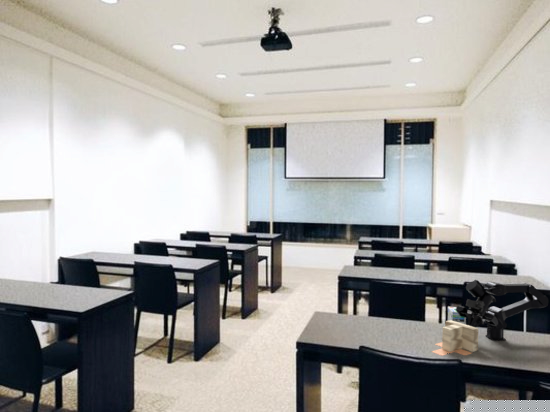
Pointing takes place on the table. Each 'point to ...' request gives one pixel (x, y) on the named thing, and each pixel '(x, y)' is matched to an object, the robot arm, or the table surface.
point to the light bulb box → (455, 316)
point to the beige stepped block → (459, 337)
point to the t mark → (444, 352)
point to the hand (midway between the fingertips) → (468, 329)
